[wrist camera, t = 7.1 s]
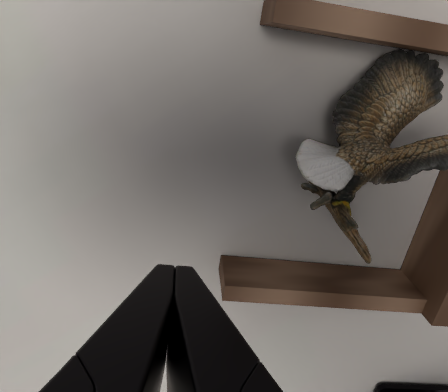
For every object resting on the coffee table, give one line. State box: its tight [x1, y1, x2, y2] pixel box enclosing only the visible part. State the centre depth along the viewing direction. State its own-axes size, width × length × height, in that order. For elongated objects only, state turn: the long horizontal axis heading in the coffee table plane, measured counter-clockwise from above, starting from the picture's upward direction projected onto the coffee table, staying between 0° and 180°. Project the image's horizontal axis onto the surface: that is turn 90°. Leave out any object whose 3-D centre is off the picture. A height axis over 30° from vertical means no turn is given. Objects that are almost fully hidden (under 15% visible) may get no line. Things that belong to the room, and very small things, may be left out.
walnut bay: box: [219, 0, 448, 326], centre depth 19 cm, size 14×15×4 cm
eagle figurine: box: [295, 49, 448, 264], centre depth 17 cm, size 8×7×9 cm
